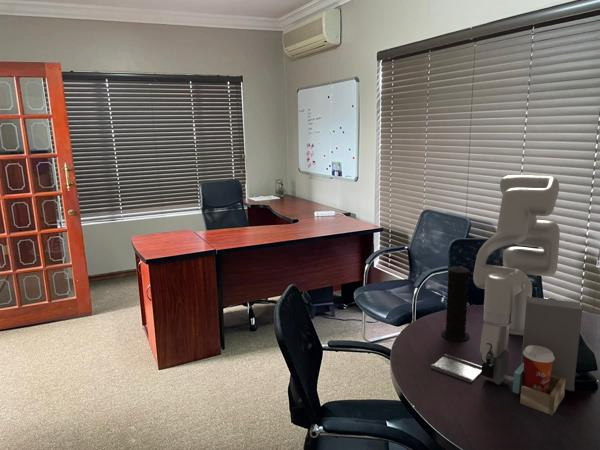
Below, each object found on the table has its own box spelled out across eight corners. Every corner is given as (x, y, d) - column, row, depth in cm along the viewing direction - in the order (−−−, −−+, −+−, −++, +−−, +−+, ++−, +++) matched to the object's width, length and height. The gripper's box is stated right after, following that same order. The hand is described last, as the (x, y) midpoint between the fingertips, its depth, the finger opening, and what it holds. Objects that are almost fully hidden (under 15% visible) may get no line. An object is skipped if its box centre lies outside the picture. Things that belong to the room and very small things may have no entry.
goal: (533, 385, 129) (535, 367, 127) (564, 395, 123) (566, 377, 122) (520, 403, 120) (521, 384, 119) (552, 415, 115) (554, 395, 114)
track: (444, 356, 146) (444, 353, 146) (484, 370, 137) (484, 366, 137) (431, 367, 139) (431, 364, 139) (471, 382, 131) (471, 379, 130)
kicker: (489, 370, 135) (491, 343, 133) (526, 383, 127) (529, 355, 126) (480, 380, 130) (482, 352, 128) (518, 393, 123) (521, 364, 121)
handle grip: (442, 341, 157) (472, 343, 155) (445, 270, 151) (476, 271, 149) (439, 329, 166) (467, 330, 164) (442, 262, 161) (471, 263, 159)
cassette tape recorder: (571, 381, 130) (580, 301, 125) (573, 392, 125) (583, 309, 120) (519, 371, 136) (526, 295, 131) (519, 381, 131) (526, 302, 126)
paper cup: (540, 408, 118) (545, 360, 115) (513, 394, 124) (517, 349, 121) (556, 398, 122) (561, 352, 119) (529, 385, 128) (533, 341, 126)
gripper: (495, 304, 135) (491, 354, 139) (472, 322, 123) (469, 377, 127) (521, 310, 130) (516, 362, 134) (499, 329, 118) (495, 387, 121)
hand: (493, 369), depth 130 cm, fingers open, 9 cm apart
